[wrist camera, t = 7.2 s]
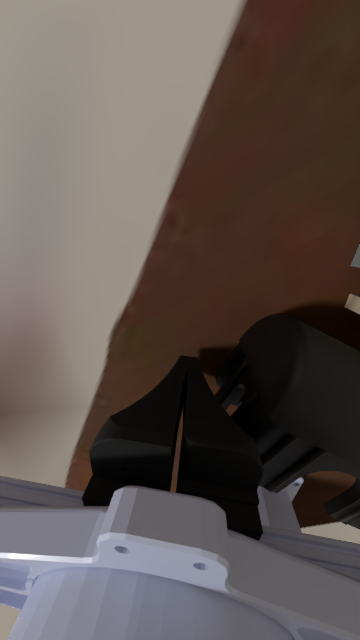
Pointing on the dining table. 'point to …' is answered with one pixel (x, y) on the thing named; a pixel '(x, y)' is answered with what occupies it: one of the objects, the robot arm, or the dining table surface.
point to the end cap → (297, 405)
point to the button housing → (356, 258)
